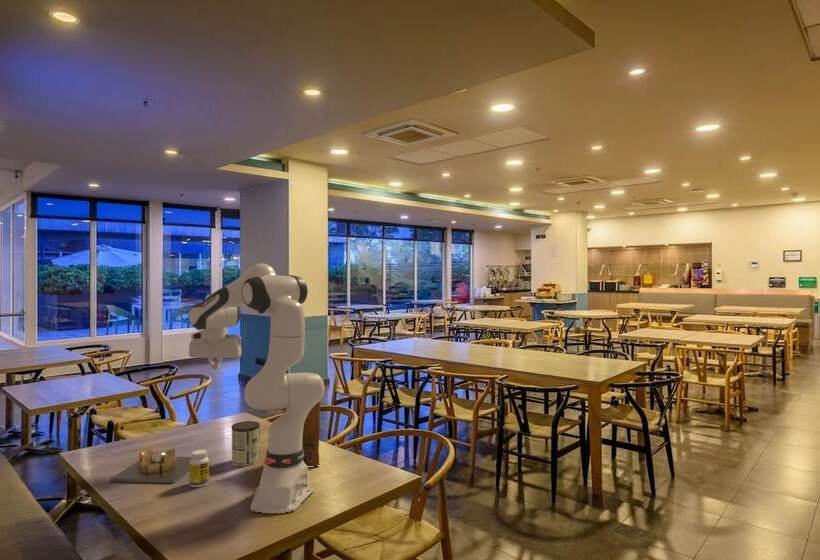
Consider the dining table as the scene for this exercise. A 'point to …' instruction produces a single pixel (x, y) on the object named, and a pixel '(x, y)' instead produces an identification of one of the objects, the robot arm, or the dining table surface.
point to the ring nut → (166, 463)
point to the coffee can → (245, 443)
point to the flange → (137, 476)
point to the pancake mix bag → (311, 436)
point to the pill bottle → (199, 469)
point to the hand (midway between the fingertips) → (215, 368)
